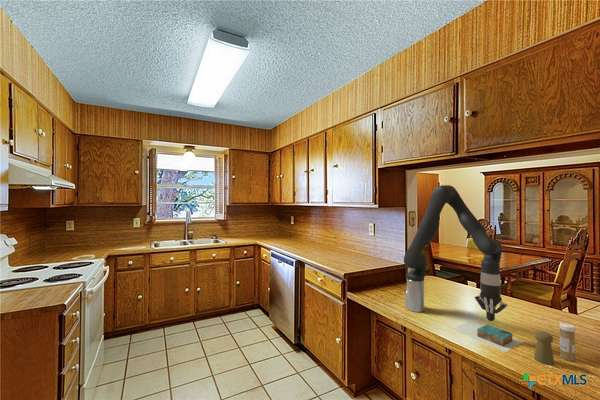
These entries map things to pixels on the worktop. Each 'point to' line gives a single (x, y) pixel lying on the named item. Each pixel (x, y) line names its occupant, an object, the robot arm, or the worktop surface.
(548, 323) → the worktop surface
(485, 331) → the teal and brown block
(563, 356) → the sprinkles bottle
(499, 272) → the robot arm
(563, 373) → the worktop surface
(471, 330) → the sage mat
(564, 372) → the worktop surface
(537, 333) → the brown rounded upright piece
